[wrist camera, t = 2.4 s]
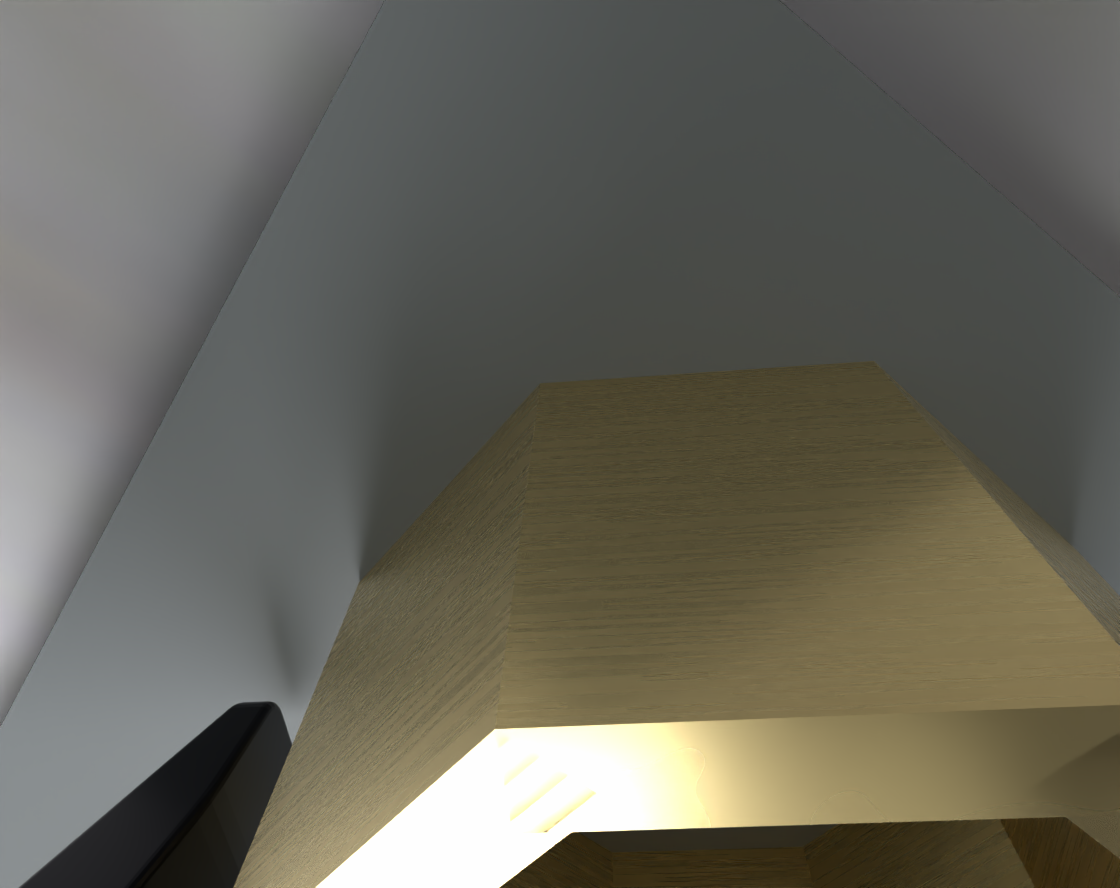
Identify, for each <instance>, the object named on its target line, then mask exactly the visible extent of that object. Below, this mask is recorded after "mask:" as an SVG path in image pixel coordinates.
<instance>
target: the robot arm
mask: <svg viewBox="0 0 1120 888" xmlns="http://www.w3.org/2000/svg"><path fill="white" fill-rule="evenodd" d="M291 747H292V742H291V739H290V736H289V733H288V730H287V726H286V723H285V720H284V717H283V714H282V711H281V709H280V707H279V706H278V705H277V704H276V703H274V702H271V701H261V702H242V703H238V704H235V705H233V706H232V707H231V708H229V709H228V710H227V711H226V712H224V713H223V714H222V715H221V716H220V717H218V718H217V719H216V720H215V721H214V722H213V723H211V724H210V725H209V726H208V727H207V728H206V729H204V730H203V731H202V732H201V733H200V734H198V735H197V736H196V737H195V738H194V739H193V740H191V741H190V742H189V743H188V744H187V745H186V746H184V747H183V748H182V749H181V750H180V751H178V752H177V753H176V754H175V755H174V756H173V757H171V758H170V759H169V760H168V761H167V762H166V763H164V764H163V765H162V766H161V767H160V768H158V769H157V770H156V771H155V772H154V773H153V774H151V775H150V776H149V777H148V778H147V779H145V780H144V781H143V782H142V783H141V784H140V785H138V786H137V787H136V788H135V789H134V790H133V791H131V792H130V793H129V794H128V795H127V796H125V797H124V798H123V799H122V800H121V801H120V802H118V803H117V804H116V805H115V806H114V807H113V808H111V809H110V810H109V811H108V812H107V813H105V814H104V815H103V816H102V817H101V818H100V819H98V820H97V821H96V822H95V823H94V824H93V825H91V826H90V827H89V828H88V829H87V830H85V831H84V832H83V833H82V834H81V835H80V836H78V837H77V838H76V839H75V840H74V841H73V842H71V843H70V844H69V845H68V846H67V847H65V848H64V849H63V850H62V851H61V852H60V853H58V854H57V855H56V856H55V857H54V858H52V859H51V860H50V861H49V862H48V863H47V864H45V865H44V866H43V867H42V868H41V869H40V870H38V871H37V872H36V873H35V874H34V875H32V876H31V877H30V878H29V879H28V880H27V881H25V882H24V883H23V884H22V885H21V886H20V887H18V888H234V885H235V883H236V880H237V878H238V875H239V873H240V871H241V868H242V866H243V863H244V861H245V858H246V856H247V854H248V851H249V849H250V846H251V844H252V841H253V839H254V837H255V834H256V832H257V829H258V827H259V824H260V822H261V820H262V817H263V815H264V812H265V810H266V807H267V805H268V802H269V800H270V798H271V795H272V793H273V790H274V788H275V785H276V783H277V781H278V778H279V776H280V773H281V771H282V768H283V766H284V764H285V761H286V759H287V756H288V754H289V751H290V749H291Z"/></svg>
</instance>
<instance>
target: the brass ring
mask: <svg viewBox="0 0 1120 888" xmlns="http://www.w3.org/2000/svg"><path fill="white" fill-rule="evenodd" d="M818 824H837V825H836V826H834V827H833V828H831V829H830V830H828V831H827V832H825V833H824V834H822V835H820V836H819V837H817V838H816V839H814V840H813V841H811V842H810V843H808V844H807V845H805V846H804V847H782V848H748V849H713V850H679V851H644V852H611V851H609V850H607V849H606V848H604V847H602V846H601V845H599V844H597V843H596V842H594V841H592V840H591V839H589V838H587V837H586V836H584V835H582V834H581V833H579V832H589V831H622V830H655V829H687V828H720V827H753V826H785V825H818ZM234 888H1120V596H1119V595H1118V594H1117V593H1116V592H1115V591H1114V589H1113V588H1112V587H1111V586H1110V585H1109V584H1108V583H1107V582H1106V581H1105V580H1104V579H1103V578H1102V577H1101V576H1100V575H1099V573H1098V572H1097V571H1096V570H1095V569H1094V568H1093V567H1092V566H1091V565H1090V564H1089V563H1088V562H1087V561H1086V560H1085V559H1084V557H1083V556H1082V555H1081V554H1080V553H1079V552H1078V551H1077V550H1076V549H1075V548H1074V547H1073V546H1072V545H1071V544H1070V543H1069V542H1068V541H1067V540H1066V539H1065V538H1064V537H1062V536H1061V535H1060V534H1059V533H1058V532H1057V531H1056V530H1055V529H1054V528H1053V527H1052V526H1051V525H1050V524H1049V523H1047V522H1046V521H1045V520H1044V519H1043V518H1042V517H1041V516H1040V515H1039V514H1038V513H1037V512H1036V511H1035V510H1033V509H1032V508H1031V507H1030V506H1029V505H1028V504H1027V503H1026V502H1025V501H1024V500H1023V499H1022V498H1021V497H1020V496H1018V495H1017V494H1016V493H1015V492H1014V491H1013V490H1012V489H1011V488H1010V487H1009V486H1008V485H1007V484H1006V483H1004V482H1003V481H1002V480H1001V479H1000V478H999V477H998V476H997V475H996V474H995V473H994V472H993V471H992V470H990V469H989V468H988V467H987V466H986V465H985V464H984V463H983V462H982V461H981V460H980V459H979V458H978V457H977V456H975V455H974V454H973V453H972V452H971V451H970V450H969V449H968V448H967V447H966V446H965V445H964V444H963V443H961V442H960V441H959V440H958V439H957V438H956V437H955V436H954V435H953V434H952V433H951V432H950V431H949V430H948V429H946V428H945V427H944V426H943V425H942V424H941V423H940V422H939V421H938V420H937V419H936V418H935V417H934V416H932V415H931V414H930V413H929V412H928V411H927V410H926V409H925V408H924V407H923V406H922V405H921V404H920V403H919V402H917V401H916V400H915V399H914V398H913V397H912V396H911V395H910V394H909V393H908V392H907V391H906V390H905V389H903V388H902V387H901V386H900V385H899V384H898V383H897V382H896V381H895V380H894V379H893V378H892V377H891V376H890V375H888V374H887V373H886V372H885V371H884V370H883V369H882V368H881V367H880V366H879V365H878V364H877V363H876V362H875V361H868V362H853V363H838V364H823V365H808V366H793V367H778V368H763V369H748V370H733V371H718V372H703V373H688V374H673V375H658V376H643V377H627V378H612V379H597V380H582V381H567V382H552V383H540V384H539V385H538V387H537V388H536V389H535V390H534V391H533V392H532V393H531V394H530V395H529V396H528V397H527V399H526V400H525V401H524V402H523V403H522V404H521V405H520V406H519V407H518V408H517V410H516V411H515V412H514V413H513V414H512V415H511V416H510V417H509V418H508V419H507V421H506V422H505V423H504V424H503V425H502V426H501V427H500V428H499V429H498V430H497V432H496V433H495V434H494V435H493V436H492V437H491V438H490V439H489V440H488V441H487V443H486V444H485V445H484V446H483V447H482V448H481V449H480V450H479V451H478V452H477V454H476V455H475V456H474V457H473V458H472V459H471V460H470V461H469V462H468V463H467V464H466V466H465V467H464V468H463V469H462V470H461V471H460V472H459V473H458V474H457V475H456V477H455V478H454V479H453V480H452V481H451V482H450V483H449V484H448V485H447V486H446V488H445V489H444V490H443V491H442V492H441V493H440V494H439V495H438V496H437V497H436V499H435V500H434V501H433V502H432V503H431V504H430V505H429V506H428V507H427V508H426V510H425V511H424V512H423V513H422V514H421V515H420V516H419V517H418V518H417V519H416V520H415V522H414V523H413V524H412V525H411V526H410V527H409V528H408V529H407V530H406V531H405V533H404V534H403V535H402V536H401V537H400V538H399V539H398V540H397V541H396V542H395V544H394V545H393V546H392V547H391V548H390V549H389V550H388V551H387V552H386V553H385V555H384V556H383V557H382V558H381V559H380V560H379V561H378V562H377V563H376V564H375V566H374V567H373V568H372V569H371V570H370V571H369V572H368V573H367V574H366V575H365V576H364V578H363V579H362V580H361V581H360V582H359V584H358V586H357V588H356V591H355V593H354V596H353V598H352V601H351V603H350V605H349V608H348V610H347V613H346V615H345V618H344V620H343V623H342V625H341V627H340V630H339V632H338V635H337V637H336V640H335V642H334V644H333V647H332V649H331V652H330V654H329V657H328V659H327V661H326V664H325V666H324V669H323V671H322V674H321V676H320V678H319V681H318V683H317V686H316V688H315V691H314V693H313V695H312V698H311V700H310V703H309V705H308V708H307V710H306V712H305V715H304V717H303V720H302V722H301V725H300V727H299V730H298V732H297V734H296V737H295V739H294V742H293V744H292V747H291V749H290V751H289V754H288V756H287V759H286V761H285V764H284V766H283V768H282V771H281V773H280V776H279V778H278V781H277V783H276V785H275V788H274V790H273V793H272V795H271V798H270V800H269V802H268V805H267V807H266V810H265V812H264V815H263V817H262V820H261V822H260V824H259V827H258V829H257V832H256V834H255V837H254V839H253V841H252V844H251V846H250V849H249V851H248V854H247V856H246V858H245V861H244V863H243V866H242V868H241V871H240V873H239V875H238V878H237V880H236V883H235V885H234Z"/></svg>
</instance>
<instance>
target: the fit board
mask: <svg viewBox="0 0 1120 888" xmlns="http://www.w3.org/2000/svg"><path fill="white" fill-rule="evenodd" d="M868 361H875V362H876V363H877V364H878V365H879V366H880V367H881V368H882V369H883V370H884V371H885V372H886V373H887V374H888V375H890V376H891V377H892V378H893V379H894V380H895V381H896V382H897V383H898V384H899V385H900V386H901V387H902V388H903V389H905V390H906V391H907V392H908V393H909V394H910V395H911V396H912V397H913V398H914V399H915V400H916V401H917V402H919V403H920V404H921V405H922V406H923V407H924V408H925V409H926V410H927V411H928V412H929V413H930V414H931V415H932V416H934V417H935V418H936V419H937V420H938V421H939V422H940V423H941V424H942V425H943V426H944V427H945V428H946V429H948V430H949V431H950V432H951V433H952V434H953V435H954V436H955V437H956V438H957V439H958V440H959V441H960V442H961V443H963V444H964V445H965V446H966V447H967V448H968V449H969V450H970V451H971V452H972V453H973V454H974V455H975V456H977V457H978V458H979V459H980V460H981V461H982V462H983V463H984V464H985V465H986V466H987V467H988V468H989V469H990V470H992V471H993V472H994V473H995V474H996V475H997V476H998V477H999V478H1000V479H1001V480H1002V481H1003V482H1004V483H1006V484H1007V485H1008V486H1009V487H1010V488H1011V489H1012V490H1013V491H1014V492H1015V493H1016V494H1017V495H1018V496H1020V497H1021V498H1022V499H1023V500H1024V501H1025V502H1026V503H1027V504H1028V505H1029V506H1030V507H1031V508H1032V509H1033V510H1035V511H1036V512H1037V513H1038V514H1039V515H1040V516H1041V517H1042V518H1043V519H1044V520H1045V521H1046V522H1047V523H1049V524H1050V525H1051V526H1052V527H1053V528H1054V529H1055V530H1056V531H1057V532H1058V533H1059V534H1060V535H1061V536H1062V537H1064V538H1065V539H1066V540H1067V541H1068V542H1069V543H1070V544H1071V545H1072V546H1073V547H1074V548H1075V549H1076V550H1077V551H1078V552H1079V553H1080V554H1081V555H1082V556H1083V557H1084V559H1085V560H1086V561H1087V562H1088V563H1089V564H1090V565H1091V566H1092V567H1093V568H1094V569H1095V570H1096V571H1097V572H1098V573H1099V575H1100V576H1101V577H1102V578H1103V579H1104V580H1105V581H1106V582H1107V583H1108V584H1109V585H1110V586H1111V587H1112V588H1113V589H1114V591H1115V592H1116V593H1117V594H1118V595H1119V596H1120V297H1119V296H1118V295H1117V294H1116V293H1115V292H1113V291H1112V290H1111V289H1110V288H1109V287H1108V286H1107V285H1105V284H1104V283H1103V282H1102V281H1101V280H1100V279H1099V278H1097V277H1096V276H1095V275H1094V274H1093V273H1092V272H1091V271H1089V270H1088V269H1087V268H1086V267H1085V266H1084V265H1082V264H1081V263H1080V262H1079V261H1078V260H1077V259H1076V258H1074V257H1073V256H1072V255H1071V254H1070V253H1069V252H1068V251H1066V250H1065V249H1064V248H1063V247H1062V246H1061V245H1060V244H1058V243H1057V242H1056V241H1055V240H1054V239H1053V238H1052V237H1050V236H1049V235H1048V234H1047V233H1046V232H1045V231H1043V230H1042V229H1041V228H1040V227H1039V226H1038V225H1037V224H1035V223H1034V222H1033V221H1032V220H1031V219H1030V218H1029V217H1027V216H1026V215H1025V214H1024V213H1023V212H1022V211H1021V210H1019V209H1018V208H1017V207H1016V206H1015V205H1014V204H1012V203H1011V202H1010V201H1009V200H1008V199H1007V198H1006V197H1004V196H1003V195H1002V194H1001V193H1000V192H999V191H998V190H996V189H995V188H994V187H993V186H992V185H991V184H990V183H988V182H987V181H986V180H985V179H984V178H983V177H981V176H980V175H979V174H978V173H977V172H976V171H975V170H973V169H972V168H971V167H970V166H969V165H968V164H967V163H965V162H964V161H963V160H962V159H961V158H960V157H959V156H957V155H956V154H955V153H954V152H953V151H952V150H951V149H949V148H948V147H947V146H946V145H945V144H944V143H942V142H941V141H940V140H939V139H938V138H937V137H936V136H934V135H933V134H932V133H931V132H930V131H929V130H928V129H926V128H925V127H924V126H923V125H922V124H921V123H920V122H918V121H917V120H916V119H915V118H914V117H913V116H911V115H910V114H909V113H908V112H907V111H906V110H905V109H903V108H902V107H901V106H900V105H899V104H898V103H897V102H895V101H894V100H893V99H892V98H891V97H890V96H889V95H887V94H886V93H885V92H884V91H883V90H882V89H880V88H879V87H878V86H877V85H876V84H875V83H874V82H872V81H871V80H870V79H869V78H868V77H867V76H866V75H864V74H863V73H862V72H861V71H860V70H859V69H858V68H856V67H855V66H854V65H853V64H852V63H851V62H850V61H848V60H847V59H846V58H845V57H844V56H843V55H841V54H840V53H839V52H838V51H837V50H836V49H835V48H833V47H832V46H831V45H830V44H829V43H828V42H827V41H825V40H824V39H823V38H822V37H821V36H820V35H819V34H817V33H816V32H815V31H814V30H813V29H812V28H810V27H809V26H808V25H807V24H806V23H805V22H804V21H802V20H801V19H800V18H799V17H798V16H797V15H796V14H794V13H793V12H792V11H791V10H790V9H789V8H788V7H786V6H785V5H784V4H783V3H782V2H781V1H779V0H385V1H384V3H383V5H382V7H381V9H380V10H379V12H378V14H377V16H376V18H375V20H374V22H373V24H372V26H371V27H370V29H369V31H368V33H367V35H366V37H365V39H364V41H363V43H362V44H361V46H360V48H359V50H358V52H357V54H356V56H355V58H354V60H353V61H352V63H351V65H350V67H349V69H348V71H347V73H346V75H345V77H344V78H343V80H342V82H341V84H340V86H339V88H338V90H337V92H336V94H335V95H334V97H333V99H332V101H331V103H330V105H329V107H328V109H327V111H326V112H325V114H324V116H323V118H322V120H321V122H320V124H319V126H318V128H317V129H316V131H315V133H314V135H313V137H312V139H311V141H310V143H309V145H308V146H307V148H306V150H305V152H304V154H303V156H302V158H301V160H300V162H299V163H298V165H297V167H296V169H295V171H294V173H293V175H292V177H291V179H290V180H289V182H288V184H287V186H286V188H285V190H284V192H283V194H282V196H281V198H280V199H279V201H278V203H277V205H276V207H275V209H274V211H273V213H272V215H271V216H270V218H269V220H268V222H267V224H266V226H265V228H264V230H263V232H262V233H261V235H260V237H259V239H258V241H257V243H256V245H255V247H254V249H253V250H252V252H251V254H250V256H249V258H248V260H247V262H246V264H245V266H244V267H243V269H242V271H241V273H240V275H239V277H238V279H237V281H236V283H235V284H234V286H233V288H232V290H231V292H230V294H229V296H228V298H227V300H226V301H225V303H224V305H223V307H222V309H221V311H220V313H219V315H218V317H217V318H216V320H215V322H214V324H213V326H212V328H211V330H210V332H209V334H208V335H207V337H206V339H205V341H204V343H203V345H202V347H201V349H200V351H199V352H198V354H197V356H196V358H195V360H194V362H193V364H192V366H191V368H190V369H189V371H188V373H187V375H186V377H185V379H184V381H183V383H182V385H181V386H180V388H179V390H178V392H177V394H176V396H175V398H174V400H173V402H172V404H171V405H170V407H169V409H168V411H167V413H166V415H165V417H164V419H163V421H162V422H161V424H160V426H159V428H158V430H157V432H156V434H155V436H154V438H153V439H152V441H151V443H150V445H149V447H148V449H147V451H146V453H145V455H144V456H143V458H142V460H141V462H140V464H139V466H138V468H137V470H136V472H135V473H134V475H133V477H132V479H131V481H130V483H129V485H128V487H127V489H126V490H125V492H124V494H123V496H122V498H121V500H120V502H119V504H118V506H117V507H116V509H115V511H114V513H113V515H112V517H111V519H110V521H109V523H108V524H107V526H106V528H105V530H104V532H103V534H102V536H101V538H100V540H99V541H98V543H97V545H96V547H95V549H94V551H93V553H92V555H91V557H90V558H89V560H88V562H87V564H86V566H85V568H84V570H83V572H82V574H81V575H80V577H79V579H78V581H77V583H76V585H75V587H74V589H73V591H72V593H71V594H70V596H69V598H68V600H67V602H66V604H65V606H64V608H63V610H62V611H61V613H60V615H59V617H58V619H57V621H56V623H55V625H54V627H53V628H52V630H51V632H50V634H49V636H48V638H47V640H46V642H45V644H44V645H43V647H42V649H41V651H40V653H39V655H38V657H37V659H36V661H35V662H34V664H33V666H32V668H31V670H30V672H29V674H28V676H27V678H26V679H25V681H24V683H23V685H22V687H21V689H20V691H19V693H18V695H17V696H16V698H15V700H14V702H13V704H12V706H11V708H10V710H9V712H8V713H7V715H6V717H5V719H4V721H3V723H2V725H1V727H0V888H18V887H20V886H21V885H22V884H23V883H24V882H25V881H27V880H28V879H29V878H30V877H31V876H32V875H34V874H35V873H36V872H37V871H38V870H40V869H41V868H42V867H43V866H44V865H45V864H47V863H48V862H49V861H50V860H51V859H52V858H54V857H55V856H56V855H57V854H58V853H60V852H61V851H62V850H63V849H64V848H65V847H67V846H68V845H69V844H70V843H71V842H73V841H74V840H75V839H76V838H77V837H78V836H80V835H81V834H82V833H83V832H84V831H85V830H87V829H88V828H89V827H90V826H91V825H93V824H94V823H95V822H96V821H97V820H98V819H100V818H101V817H102V816H103V815H104V814H105V813H107V812H108V811H109V810H110V809H111V808H113V807H114V806H115V805H116V804H117V803H118V802H120V801H121V800H122V799H123V798H124V797H125V796H127V795H128V794H129V793H130V792H131V791H133V790H134V789H135V788H136V787H137V786H138V785H140V784H141V783H142V782H143V781H144V780H145V779H147V778H148V777H149V776H150V775H151V774H153V773H154V772H155V771H156V770H157V769H158V768H160V767H161V766H162V765H163V764H164V763H166V762H167V761H168V760H169V759H170V758H171V757H173V756H174V755H175V754H176V753H177V752H178V751H180V750H181V749H182V748H183V747H184V746H186V745H187V744H188V743H189V742H190V741H191V740H193V739H194V738H195V737H196V736H197V735H198V734H200V733H201V732H202V731H203V730H204V729H206V728H207V727H208V726H209V725H210V724H211V723H213V722H214V721H215V720H216V719H217V718H218V717H220V716H221V715H222V714H223V713H224V712H226V711H227V710H228V709H229V708H231V707H232V706H233V705H235V704H238V703H242V702H261V701H271V702H274V703H276V704H277V705H278V706H279V707H280V709H281V711H282V714H283V717H284V720H285V723H286V726H287V730H288V733H289V736H290V739H291V742H292V744H293V742H294V739H295V737H296V734H297V732H298V730H299V727H300V725H301V722H302V720H303V717H304V715H305V712H306V710H307V708H308V705H309V703H310V700H311V698H312V695H313V693H314V691H315V688H316V686H317V683H318V681H319V678H320V676H321V674H322V671H323V669H324V666H325V664H326V661H327V659H328V657H329V654H330V652H331V649H332V647H333V644H334V642H335V640H336V637H337V635H338V632H339V630H340V627H341V625H342V623H343V620H344V618H345V615H346V613H347V610H348V608H349V605H350V603H351V601H352V598H353V596H354V593H355V591H356V588H357V586H358V584H359V582H360V581H361V580H362V579H363V578H364V576H365V575H366V574H367V573H368V572H369V571H370V570H371V569H372V568H373V567H374V566H375V564H376V563H377V562H378V561H379V560H380V559H381V558H382V557H383V556H384V555H385V553H386V552H387V551H388V550H389V549H390V548H391V547H392V546H393V545H394V544H395V542H396V541H397V540H398V539H399V538H400V537H401V536H402V535H403V534H404V533H405V531H406V530H407V529H408V528H409V527H410V526H411V525H412V524H413V523H414V522H415V520H416V519H417V518H418V517H419V516H420V515H421V514H422V513H423V512H424V511H425V510H426V508H427V507H428V506H429V505H430V504H431V503H432V502H433V501H434V500H435V499H436V497H437V496H438V495H439V494H440V493H441V492H442V491H443V490H444V489H445V488H446V486H447V485H448V484H449V483H450V482H451V481H452V480H453V479H454V478H455V477H456V475H457V474H458V473H459V472H460V471H461V470H462V469H463V468H464V467H465V466H466V464H467V463H468V462H469V461H470V460H471V459H472V458H473V457H474V456H475V455H476V454H477V452H478V451H479V450H480V449H481V448H482V447H483V446H484V445H485V444H486V443H487V441H488V440H489V439H490V438H491V437H492V436H493V435H494V434H495V433H496V432H497V430H498V429H499V428H500V427H501V426H502V425H503V424H504V423H505V422H506V421H507V419H508V418H509V417H510V416H511V415H512V414H513V413H514V412H515V411H516V410H517V408H518V407H519V406H520V405H521V404H522V403H523V402H524V401H525V400H526V399H527V397H528V396H529V395H530V394H531V393H532V392H533V391H534V390H535V389H536V388H537V387H538V385H539V384H540V383H552V382H567V381H582V380H597V379H612V378H627V377H643V376H658V375H673V374H688V373H703V372H718V371H733V370H748V369H763V368H778V367H793V366H808V365H823V364H838V363H853V362H868ZM836 825H837V824H818V825H785V826H753V827H720V828H687V829H655V830H622V831H589V832H579V833H581V834H582V835H584V836H586V837H587V838H589V839H591V840H592V841H594V842H596V843H597V844H599V845H601V846H602V847H604V848H606V849H607V850H609V851H611V852H644V851H679V850H713V849H748V848H782V847H804V846H805V845H807V844H808V843H810V842H811V841H813V840H814V839H816V838H817V837H819V836H820V835H822V834H824V833H825V832H827V831H828V830H830V829H831V828H833V827H834V826H836Z"/></svg>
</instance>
